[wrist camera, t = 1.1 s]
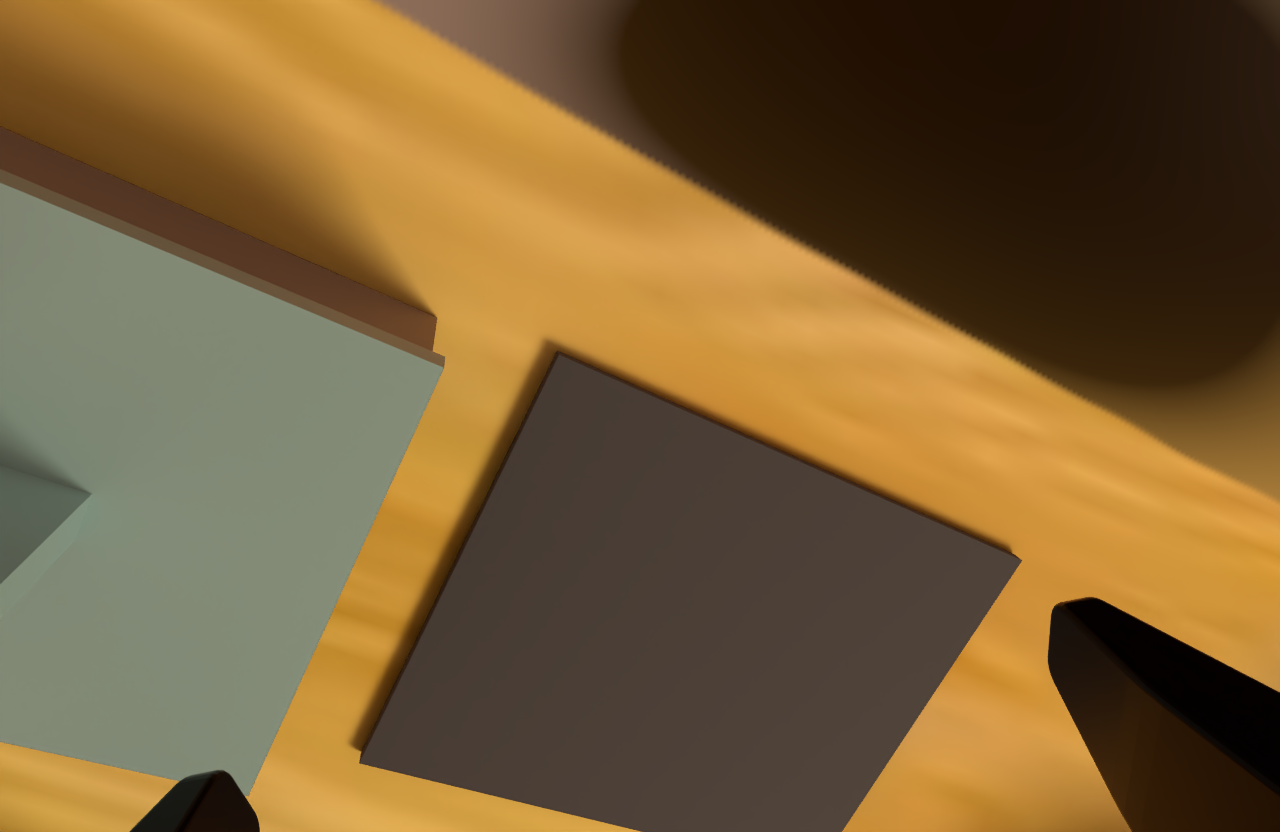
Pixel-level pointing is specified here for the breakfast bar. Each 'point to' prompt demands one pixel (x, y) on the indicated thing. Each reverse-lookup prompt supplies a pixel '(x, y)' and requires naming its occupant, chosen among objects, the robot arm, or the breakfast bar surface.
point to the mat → (679, 625)
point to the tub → (211, 238)
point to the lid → (175, 488)
